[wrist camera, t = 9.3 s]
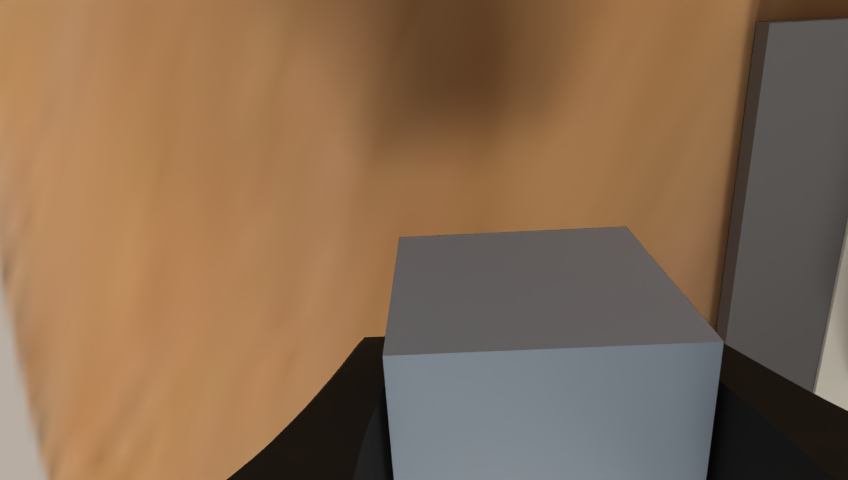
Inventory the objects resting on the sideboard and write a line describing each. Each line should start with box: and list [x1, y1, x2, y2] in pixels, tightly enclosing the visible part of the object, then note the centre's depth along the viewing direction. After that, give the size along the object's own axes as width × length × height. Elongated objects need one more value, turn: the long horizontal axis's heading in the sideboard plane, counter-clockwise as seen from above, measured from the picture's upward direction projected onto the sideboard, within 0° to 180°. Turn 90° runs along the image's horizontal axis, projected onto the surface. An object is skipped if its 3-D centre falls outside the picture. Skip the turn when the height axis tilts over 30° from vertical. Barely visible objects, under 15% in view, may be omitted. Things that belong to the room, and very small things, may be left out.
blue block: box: [383, 226, 724, 480], centre depth 10 cm, size 4×4×4 cm
